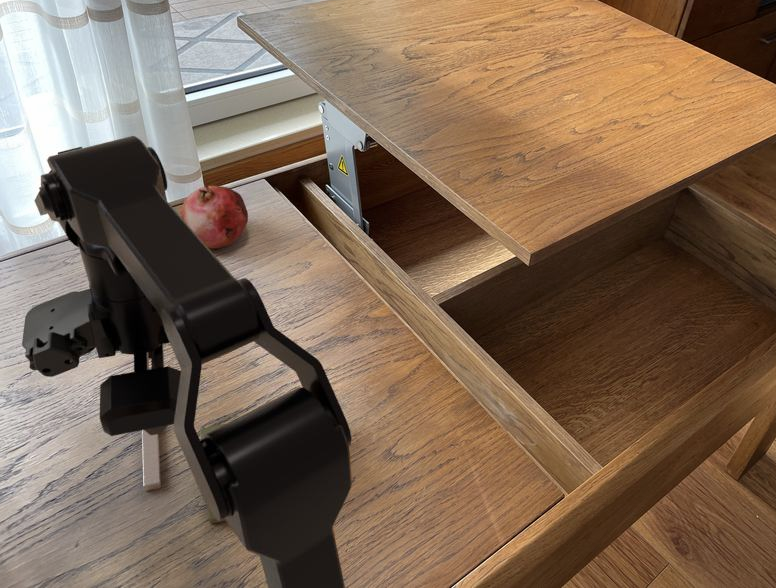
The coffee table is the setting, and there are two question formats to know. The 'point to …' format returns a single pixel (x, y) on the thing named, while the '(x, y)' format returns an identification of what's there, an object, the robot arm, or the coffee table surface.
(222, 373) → the coffee table surface
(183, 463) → the coffee table surface
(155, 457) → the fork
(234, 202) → the fruit
